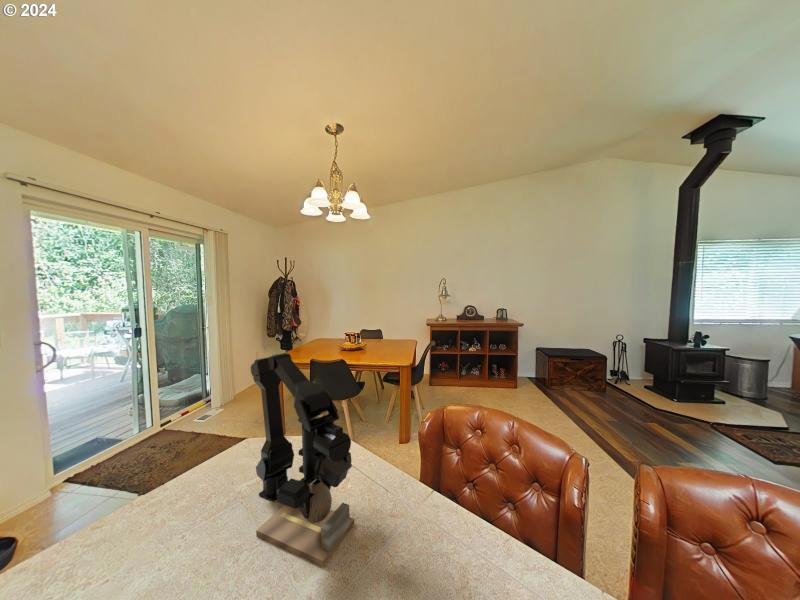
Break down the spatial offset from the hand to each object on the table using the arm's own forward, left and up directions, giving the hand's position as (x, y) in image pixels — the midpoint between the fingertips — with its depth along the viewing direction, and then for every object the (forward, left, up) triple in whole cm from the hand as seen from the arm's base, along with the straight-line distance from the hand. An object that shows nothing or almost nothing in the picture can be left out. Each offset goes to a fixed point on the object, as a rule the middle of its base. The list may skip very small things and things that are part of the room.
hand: (316, 507), depth 68 cm
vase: (0, 0, -2) cm, 2 cm away
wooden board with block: (-3, 0, -7) cm, 8 cm away
